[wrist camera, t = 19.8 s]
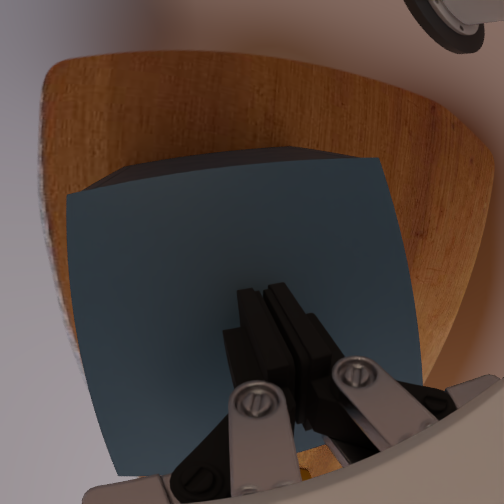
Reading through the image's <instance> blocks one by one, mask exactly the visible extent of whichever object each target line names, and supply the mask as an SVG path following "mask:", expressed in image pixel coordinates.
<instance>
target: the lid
mask: <svg viewBox="0 0 504 504" xmlns="http://www.w3.org/2000/svg"><path fill="white" fill-rule="evenodd" d="M66 220H67V252H68V267H69V279H70V289H71V298H72V306H73V313H74V320H75V326H76V332H77V338H78V343H79V349H80V354H81V358H82V363H83V368H84V372H85V376H86V380H87V384H88V388H89V392H90V396H91V399H92V403H93V406H94V410H95V413H96V416H97V419H98V423H99V426H100V429H101V432H102V435H103V438H104V440H105V443H106V446H107V449H108V451H109V454H110V457H111V459H112V462H113V464H114V467H115V469H116V472H117V474H118V476H150V475H154V474H159V475H166V474H169V473H172V472H173V471H174V470H175V468H176V467H177V466H178V465H179V464H180V463H181V462H182V461H183V460H184V459H185V458H186V457H187V456H188V455H189V454H190V453H191V452H192V451H193V450H194V449H195V448H196V447H197V446H198V445H199V444H200V443H201V442H202V441H203V440H204V439H205V438H206V437H207V436H208V434H209V433H210V432H211V431H212V430H213V429H214V428H215V427H216V426H217V425H218V424H219V423H220V422H221V420H222V419H223V418H224V417H225V416H226V415H227V414H228V401H229V396H230V394H231V393H232V391H233V390H234V386H233V382H232V378H231V374H230V370H229V366H228V361H227V356H226V351H225V345H224V339H223V332H222V330H226V329H232V328H237V327H240V319H239V310H238V301H237V290H240V289H246V288H253V289H254V291H260V293H261V295H262V297H263V290H264V289H268V285H270V284H275V283H281V282H284V283H285V284H286V285H287V287H288V288H289V290H290V291H291V293H292V294H293V296H294V297H295V299H296V300H297V302H298V303H299V305H300V306H301V308H302V309H303V310H304V312H305V313H306V314H308V313H314V314H315V315H316V316H317V318H318V319H319V321H320V322H321V323H322V325H323V326H324V328H325V329H326V330H327V332H328V333H329V335H330V336H331V337H332V339H333V340H334V342H335V343H336V344H337V346H338V347H339V349H340V350H341V351H342V353H343V354H344V356H345V357H347V356H353V355H359V356H365V357H368V358H370V359H372V360H374V361H375V362H376V363H378V364H379V365H380V366H381V367H382V368H383V369H384V370H385V371H386V372H387V373H388V374H389V375H391V376H392V377H393V378H394V379H395V380H398V381H402V382H407V383H411V384H416V385H421V386H423V380H422V364H421V352H420V342H419V333H418V324H417V317H416V310H415V303H414V297H413V291H412V285H411V279H410V274H409V269H408V264H407V259H406V254H405V250H404V245H403V241H402V237H401V232H400V228H399V224H398V221H397V217H396V213H395V209H394V206H393V202H392V199H391V195H390V192H389V188H388V185H387V182H386V179H385V175H384V172H383V169H382V166H381V163H380V160H379V158H336V159H313V160H296V161H281V162H269V163H258V164H247V165H237V166H228V167H220V168H212V169H204V170H196V171H189V172H182V173H176V174H169V175H163V176H157V177H151V178H145V179H139V180H134V181H129V182H123V183H118V184H113V185H108V186H104V187H99V188H94V189H90V190H85V191H81V192H76V193H72V194H68V195H67V208H66ZM294 443H295V448H296V453H298V452H302V451H305V450H309V449H312V448H315V447H318V446H321V445H324V444H325V442H324V441H323V439H322V435H321V434H319V433H316V432H314V431H313V429H311V430H308V431H305V429H304V427H303V425H302V423H301V424H296V422H295V428H294Z"/></svg>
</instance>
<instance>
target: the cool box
mask: <svg viewBox="0 0 504 504" xmlns="http://www.w3.org/2000/svg"><path fill="white" fill-rule="evenodd" d="M336 158H359V157H354V156H348V155H343V154H337V153H332V152H326V151H320V150H313V149H307V148H300V147H292V146H287V147H271V148H257V149H246V150H235V151H225V152H216V153H208V154H200V155H192V156H185V157H178V158H172V159H165V160H159V161H153V162H147V163H142V164H136V165H131V166H126V167H123V168H121V169H119V170H117V171H115V172H113V173H112V174H110V175H108V176H106V177H104V178H103V179H101V180H99V181H97V182H96V183H94V184H92V185H91V186H89V187H87V188H86V189H84V190H82V191H85V190H90V189H94V188H99V187H104V186H108V185H113V184H118V183H123V182H129V181H134V180H139V179H145V178H151V177H157V176H163V175H169V174H176V173H182V172H189V171H196V170H204V169H212V168H220V167H228V166H237V165H247V164H258V163H269V162H281V161H296V160H313V159H336Z"/></svg>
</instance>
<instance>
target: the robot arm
mask: <svg viewBox="0 0 504 504" xmlns="http://www.w3.org/2000/svg"><path fill="white" fill-rule="evenodd" d="M428 2H429V3H430V5H431V6H432V8H433V9H434V11H435V12H436V13H437V15H438V16H439V17H440V18H441V19H442V21H443V22H444V23H445V24H446V25H447V26H448V27H450V28H451V29H452V30H454V31H455V32H457V33H459V34H461V35H473V34H474V33H476V31H477V30H478V27H479V24H480V23H488V22H497V21H504V0H428ZM237 301H238V310H239V319H240V327H237V328H232V329H226V330H222V332H223V339H224V345H225V351H226V356H227V361H228V366H229V370H230V374H231V378H232V382H233V386H234V390H233V391H232V393H231V394H230V396H229V401H228V414H227V415H226V416H225V417H224V418H223V419H222V420H221V422H220V423H219V424H218V425H217V426H216V427H215V428H214V429H213V430H212V431H211V432H210V433H209V434H208V436H207V437H206V438H205V439H204V440H203V441H202V442H201V443H200V444H199V445H198V446H197V447H196V448H195V449H194V450H193V451H192V452H191V453H190V454H189V455H188V456H187V457H186V458H185V459H184V460H183V461H182V462H181V463H180V464H179V465H178V466H177V467H176V468H175V470H174V471H173V472H172V473H169V474H166V475H162V476H160V475H159V474H154V475H150V476H146V477H142V478H137V479H133V480H128V481H123V482H118V483H113V484H107V485H101V486H96V487H93V488H90V489H89V490H88V491H87V492H86V493H85V494H84V496H83V499H82V504H504V377H503V378H502V379H500V378H498V377H496V376H495V375H490V374H489V375H484V376H481V377H478V378H475V379H473V380H469V381H466V382H463V383H460V384H457V385H454V386H451V387H447V388H446V389H445V391H442V390H439V389H435V388H430V387H426V386H421V385H416V384H411V383H407V382H402V381H398V380H395V379H394V378H393V377H392V376H391V375H389V374H388V373H387V372H386V371H385V370H384V369H383V368H382V367H381V366H380V365H379V364H378V363H376V362H375V361H374V360H372V359H370V358H368V357H365V356H359V355H353V356H347V357H345V356H344V354H343V353H342V351H341V350H340V349H339V347H338V346H337V344H336V343H335V342H334V340H333V339H332V337H331V336H330V335H329V333H328V332H327V330H326V329H325V328H324V326H323V325H322V323H321V322H320V321H319V319H318V318H317V316H316V315H315V314H314V313H308V314H306V313H305V312H304V310H303V309H302V308H301V306H300V305H299V303H298V302H297V300H296V299H295V297H294V296H293V294H292V293H291V291H290V290H289V288H288V287H287V285H286V284H285V283H284V282H281V283H275V284H270V285H268V289H264V290H263V297H262V295H261V293H260V291H254V289H253V288H246V289H240V290H237ZM295 422H296V424H301V423H302V425H303V427H304V429H305V431H308V430H311V429H313V431H314V432H316V433H319V434H321V435H322V439H323V441H324V442H325V444H326V445H327V446H328V448H329V449H330V451H331V452H332V453H333V455H334V456H335V457H336V459H337V460H338V461H339V463H340V464H341V465H342V467H343V468H341V469H338V470H335V471H332V472H329V473H327V474H324V475H321V476H318V477H314V478H311V479H308V480H305V481H302V478H301V473H300V468H299V463H298V458H297V453H296V448H295V443H294V428H295Z"/></svg>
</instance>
